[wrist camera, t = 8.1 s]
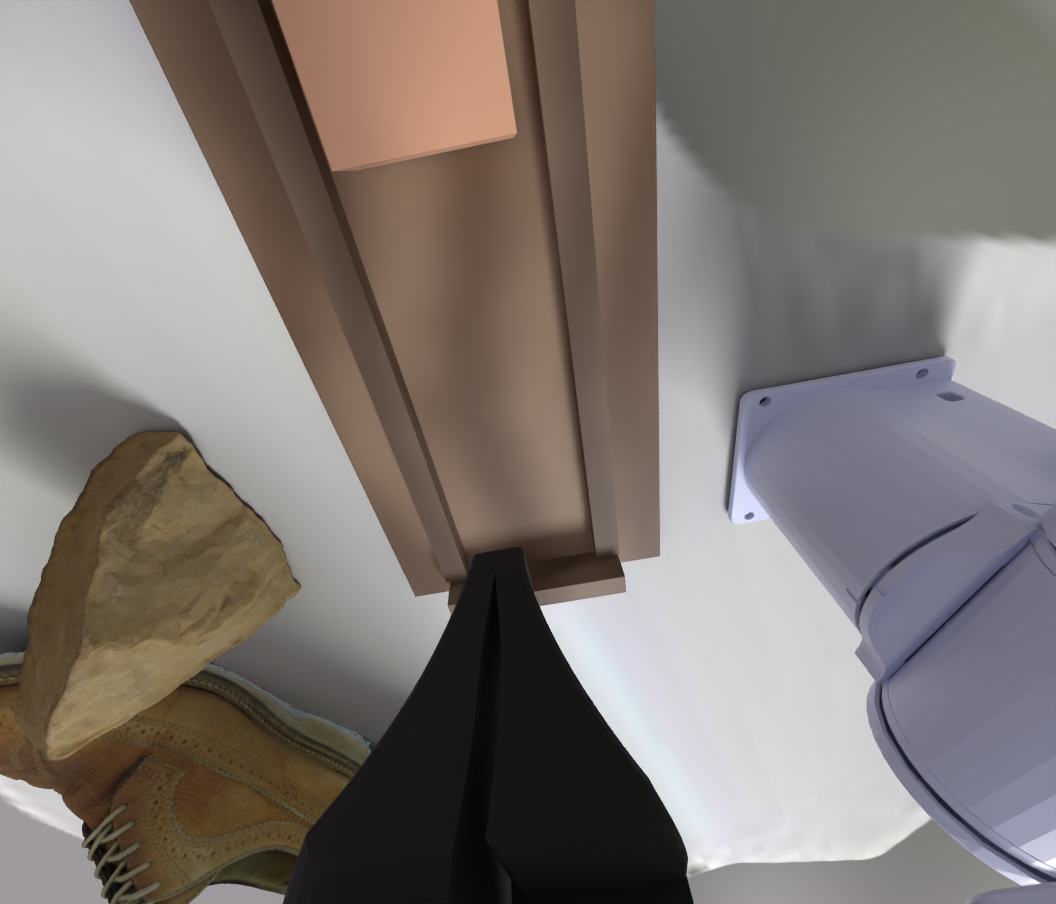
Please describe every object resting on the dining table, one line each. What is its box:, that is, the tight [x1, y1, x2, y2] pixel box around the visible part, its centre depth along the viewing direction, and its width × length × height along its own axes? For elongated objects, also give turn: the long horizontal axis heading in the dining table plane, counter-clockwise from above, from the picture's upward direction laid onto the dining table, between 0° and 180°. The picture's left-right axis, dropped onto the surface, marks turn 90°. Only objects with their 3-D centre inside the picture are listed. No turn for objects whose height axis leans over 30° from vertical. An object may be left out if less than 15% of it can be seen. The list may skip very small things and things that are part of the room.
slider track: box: [129, 0, 660, 615], centre depth 17 cm, size 14×26×3 cm, turn 10°
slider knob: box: [272, 0, 517, 171], centre depth 12 cm, size 5×4×2 cm
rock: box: [14, 432, 301, 762], centre depth 20 cm, size 11×9×10 cm
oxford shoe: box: [0, 652, 371, 904], centre depth 27 cm, size 28×10×11 cm, turn 44°
